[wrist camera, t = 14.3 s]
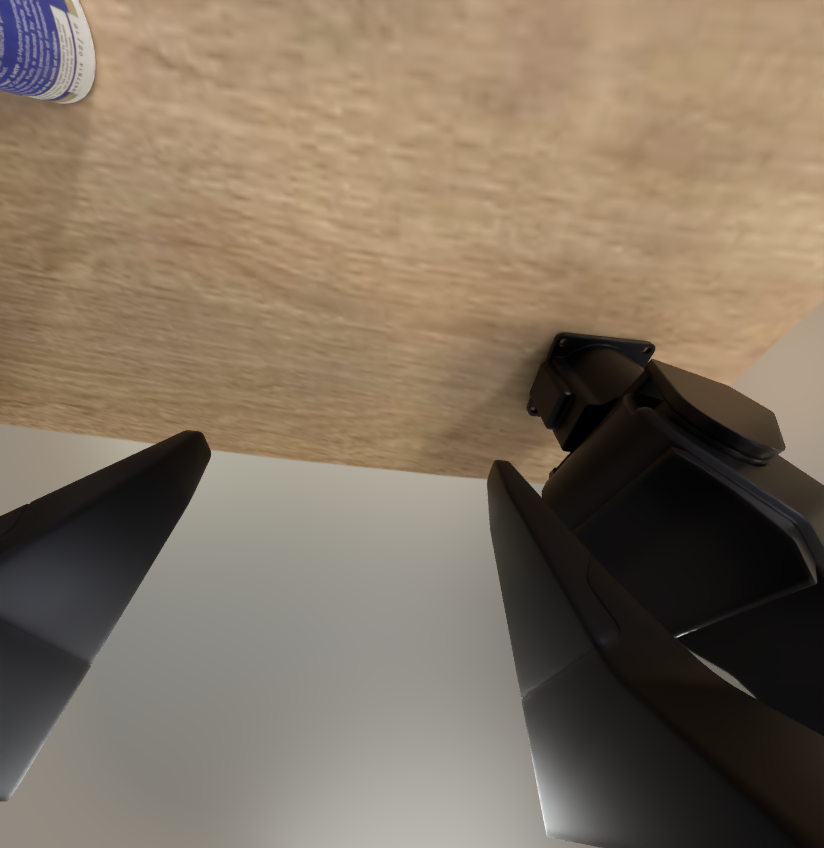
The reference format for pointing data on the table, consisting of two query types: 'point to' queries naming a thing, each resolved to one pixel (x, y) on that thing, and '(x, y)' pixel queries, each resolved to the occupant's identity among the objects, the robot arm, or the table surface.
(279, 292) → the table surface
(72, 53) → the pill bottle
